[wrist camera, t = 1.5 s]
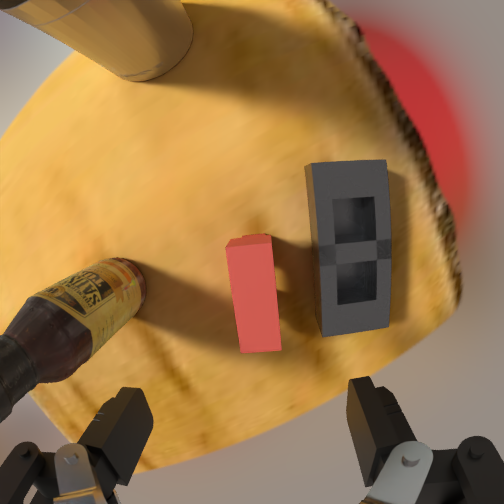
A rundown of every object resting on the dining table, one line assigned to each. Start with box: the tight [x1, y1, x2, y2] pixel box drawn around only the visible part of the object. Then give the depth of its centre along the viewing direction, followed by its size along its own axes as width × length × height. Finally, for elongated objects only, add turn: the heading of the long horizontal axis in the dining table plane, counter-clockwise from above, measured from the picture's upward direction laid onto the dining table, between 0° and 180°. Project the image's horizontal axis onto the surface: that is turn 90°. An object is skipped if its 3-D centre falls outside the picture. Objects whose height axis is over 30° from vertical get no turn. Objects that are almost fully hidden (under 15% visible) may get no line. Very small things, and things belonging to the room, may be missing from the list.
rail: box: [304, 160, 391, 337], centre depth 24 cm, size 14×6×4 cm, turn 6°
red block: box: [225, 234, 282, 353], centre depth 24 cm, size 8×3×7 cm, turn 7°
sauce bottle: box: [0, 257, 146, 423], centre depth 19 cm, size 6×6×20 cm
